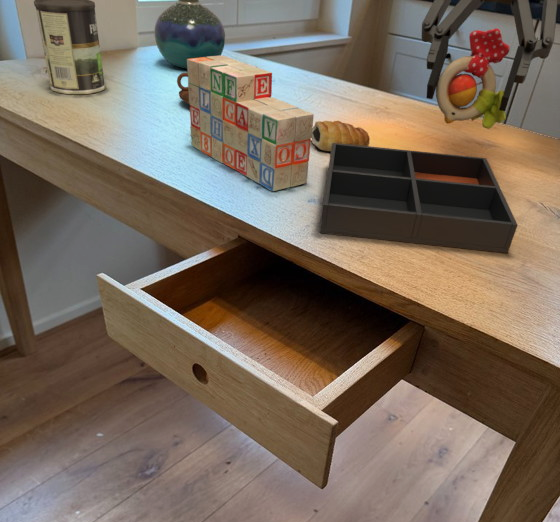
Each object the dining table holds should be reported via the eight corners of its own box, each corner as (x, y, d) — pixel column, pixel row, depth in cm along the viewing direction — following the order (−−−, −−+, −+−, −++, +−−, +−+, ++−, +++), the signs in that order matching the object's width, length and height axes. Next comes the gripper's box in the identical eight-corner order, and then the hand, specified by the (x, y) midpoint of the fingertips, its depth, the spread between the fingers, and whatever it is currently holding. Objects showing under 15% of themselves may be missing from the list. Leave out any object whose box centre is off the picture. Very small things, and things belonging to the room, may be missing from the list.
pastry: (360, 138, 95) (363, 115, 93) (375, 153, 90) (379, 128, 88) (307, 140, 93) (309, 115, 91) (319, 154, 88) (322, 129, 86)
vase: (198, 56, 136) (196, -10, 128) (239, 69, 128) (239, 0, 119) (143, 62, 128) (137, -8, 119) (182, 77, 120) (179, 3, 111)
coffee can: (105, 81, 114) (94, -2, 105) (106, 95, 106) (94, 6, 97) (51, 80, 112) (35, -5, 102) (48, 95, 104) (31, 4, 95)
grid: (479, 182, 83) (486, 158, 81) (507, 253, 66) (517, 224, 64) (329, 167, 84) (332, 142, 82) (319, 232, 67) (322, 204, 65)
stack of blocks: (308, 184, 79) (317, 88, 71) (272, 193, 75) (277, 93, 68) (223, 139, 91) (222, 53, 83) (189, 145, 88) (186, 56, 80)
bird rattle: (451, 148, 72) (524, 121, 70) (435, 56, 65) (515, 23, 63) (439, 133, 76) (507, 107, 74) (423, 45, 70) (497, 15, 68)
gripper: (600, -38, 70) (549, 130, 69) (433, -54, 76) (383, 102, 74) (622, -94, 63) (565, 93, 62) (436, -108, 68) (380, 64, 67)
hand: (466, 98), depth 68 cm, fingers closed on bird rattle, 8 cm apart
